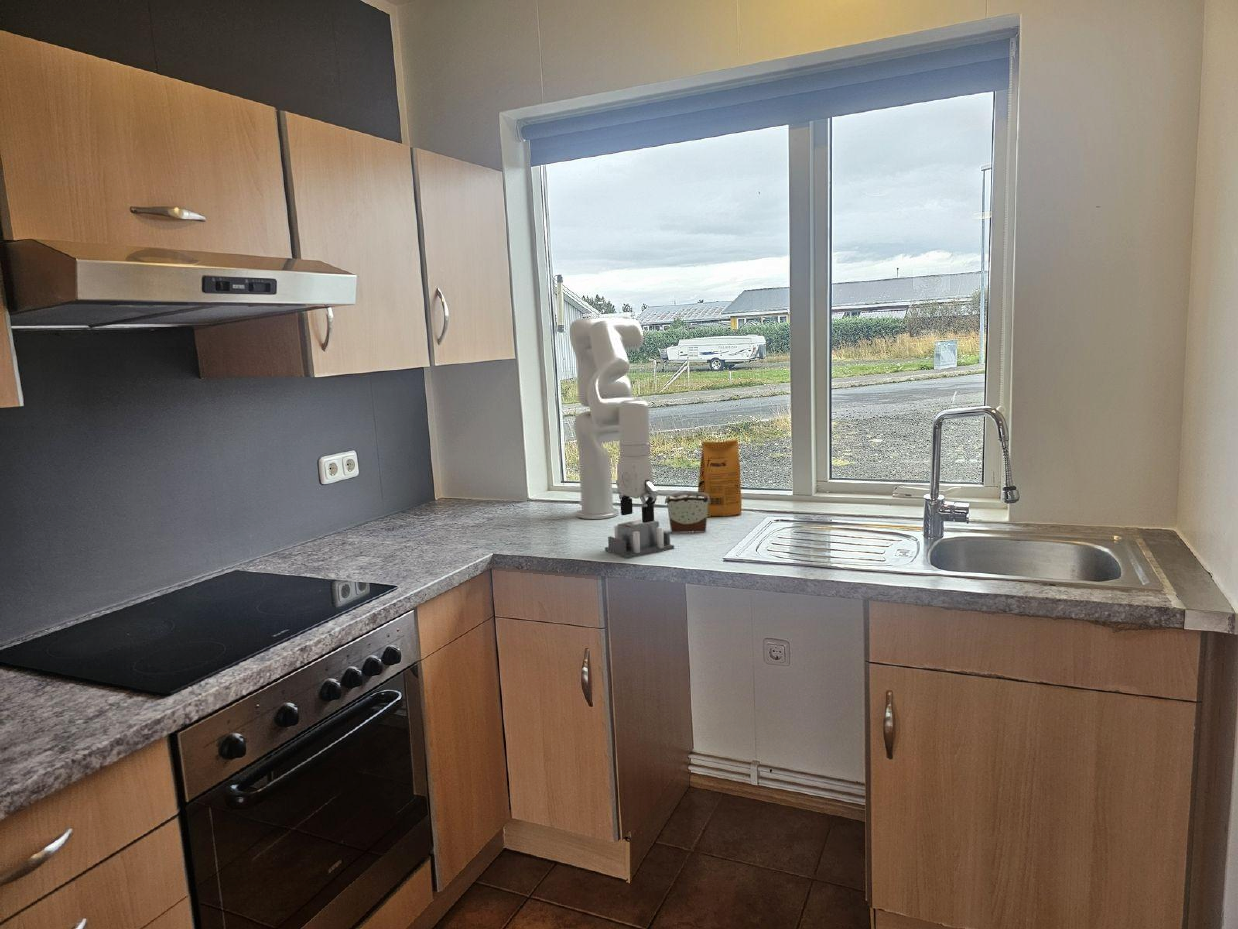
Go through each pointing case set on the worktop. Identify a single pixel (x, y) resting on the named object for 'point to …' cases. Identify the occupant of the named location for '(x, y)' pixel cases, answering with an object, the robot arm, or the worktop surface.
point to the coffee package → (721, 477)
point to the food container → (687, 511)
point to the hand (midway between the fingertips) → (637, 518)
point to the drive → (645, 530)
